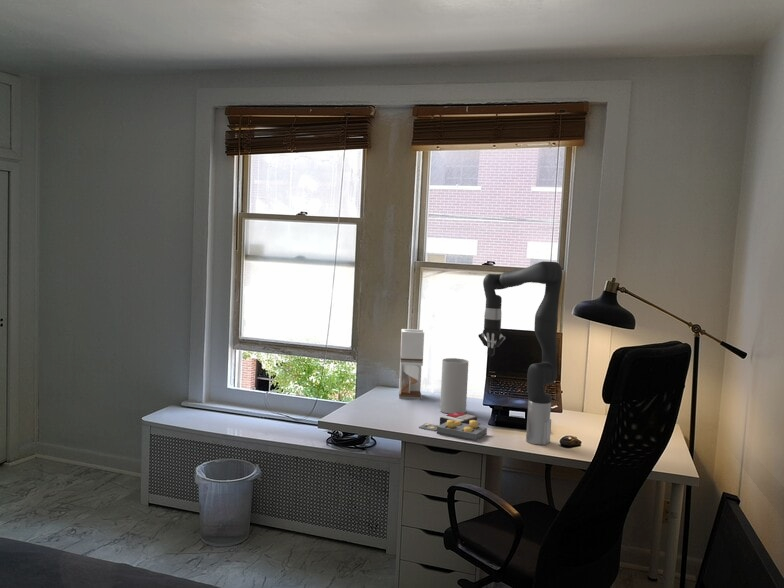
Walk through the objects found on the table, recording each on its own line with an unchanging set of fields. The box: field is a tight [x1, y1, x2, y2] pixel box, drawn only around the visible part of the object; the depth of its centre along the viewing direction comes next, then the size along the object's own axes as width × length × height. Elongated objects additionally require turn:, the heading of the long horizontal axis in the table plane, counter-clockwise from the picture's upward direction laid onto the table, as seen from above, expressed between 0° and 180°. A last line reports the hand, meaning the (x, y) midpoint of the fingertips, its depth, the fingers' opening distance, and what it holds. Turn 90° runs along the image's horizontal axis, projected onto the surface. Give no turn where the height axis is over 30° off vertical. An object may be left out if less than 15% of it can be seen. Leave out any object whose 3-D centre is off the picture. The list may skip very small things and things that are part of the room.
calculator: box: [439, 412, 478, 425], centre depth 294 cm, size 11×4×15 cm
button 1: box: [447, 420, 455, 429], centre depth 278 cm, size 4×4×3 cm
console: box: [436, 422, 488, 442], centre depth 278 cm, size 18×12×3 cm, turn 60°
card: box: [418, 422, 439, 432], centre depth 286 cm, size 8×7×1 cm
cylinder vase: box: [439, 357, 469, 415], centre depth 314 cm, size 12×12×25 cm
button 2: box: [464, 427, 473, 432], centre depth 274 cm, size 4×4×3 cm
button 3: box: [469, 420, 479, 429], centre depth 278 cm, size 4×4×3 cm
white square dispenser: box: [398, 328, 425, 401], centre depth 341 cm, size 11×11×35 cm
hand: (490, 355), depth 296 cm, fingers closed
